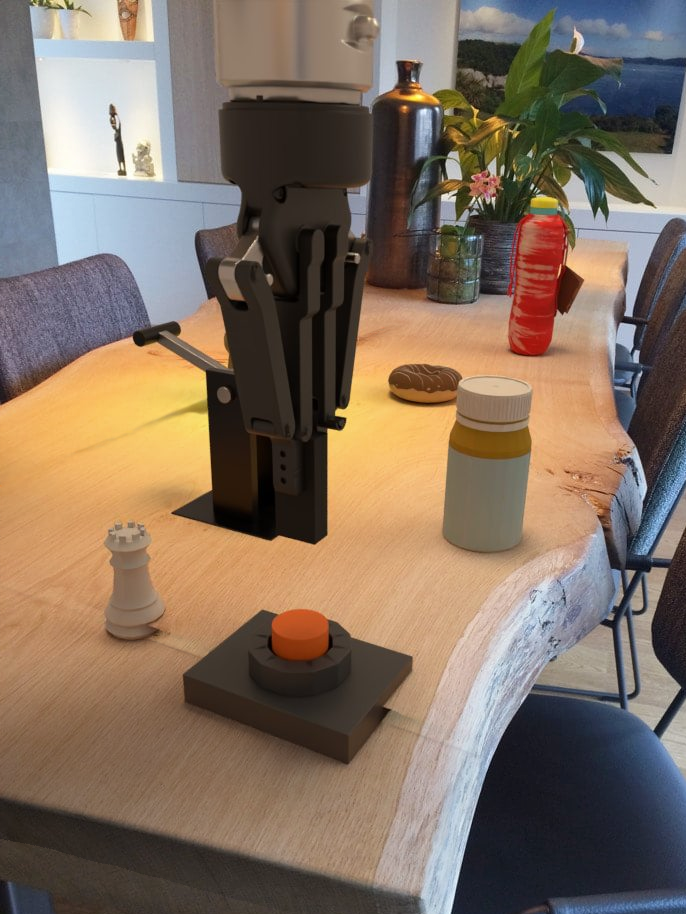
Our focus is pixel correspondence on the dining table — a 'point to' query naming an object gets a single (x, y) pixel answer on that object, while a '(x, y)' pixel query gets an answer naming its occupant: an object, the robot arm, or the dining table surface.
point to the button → (300, 635)
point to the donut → (424, 382)
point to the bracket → (235, 467)
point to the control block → (299, 687)
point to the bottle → (488, 464)
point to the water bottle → (540, 278)
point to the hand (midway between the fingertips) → (301, 534)
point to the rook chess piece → (131, 584)
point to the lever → (175, 344)
